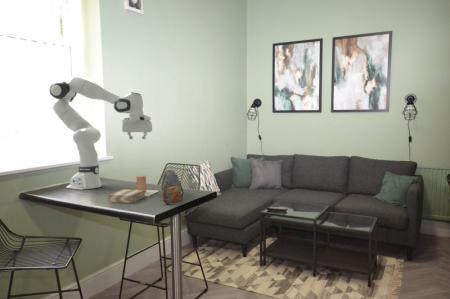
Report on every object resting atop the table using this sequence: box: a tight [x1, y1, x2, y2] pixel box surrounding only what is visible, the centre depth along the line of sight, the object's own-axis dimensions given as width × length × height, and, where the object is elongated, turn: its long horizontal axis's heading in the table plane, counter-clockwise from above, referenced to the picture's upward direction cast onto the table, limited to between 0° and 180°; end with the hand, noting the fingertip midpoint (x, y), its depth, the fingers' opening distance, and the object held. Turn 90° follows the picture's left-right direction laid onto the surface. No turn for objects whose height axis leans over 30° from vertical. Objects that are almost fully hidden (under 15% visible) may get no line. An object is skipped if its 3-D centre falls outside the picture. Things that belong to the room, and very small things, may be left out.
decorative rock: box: [160, 169, 183, 192], centre depth 215 cm, size 16×7×15 cm, turn 150°
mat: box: [145, 189, 160, 197], centre depth 222 cm, size 16×14×1 cm
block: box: [135, 174, 147, 192], centre depth 222 cm, size 4×4×10 cm
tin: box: [162, 185, 184, 205], centre depth 198 cm, size 15×3×8 cm, turn 149°
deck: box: [108, 189, 146, 204], centre depth 207 cm, size 14×14×4 cm
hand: (137, 139), depth 240 cm, fingers open, 8 cm apart
